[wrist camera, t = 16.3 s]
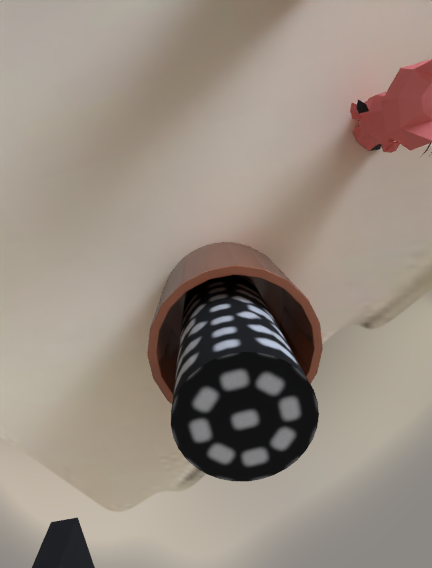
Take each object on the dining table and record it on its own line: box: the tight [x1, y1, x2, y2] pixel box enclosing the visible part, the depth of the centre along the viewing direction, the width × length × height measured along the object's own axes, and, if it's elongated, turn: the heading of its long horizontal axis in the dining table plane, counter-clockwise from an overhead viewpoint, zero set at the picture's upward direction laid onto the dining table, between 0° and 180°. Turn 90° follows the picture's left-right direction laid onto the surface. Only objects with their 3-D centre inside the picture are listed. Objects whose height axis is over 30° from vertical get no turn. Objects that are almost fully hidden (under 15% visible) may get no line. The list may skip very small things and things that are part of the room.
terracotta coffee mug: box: [148, 242, 322, 403], centre depth 36 cm, size 19×14×12 cm
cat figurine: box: [350, 59, 432, 155], centre depth 31 cm, size 7×7×12 cm
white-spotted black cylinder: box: [171, 275, 319, 481], centre depth 31 cm, size 8×8×20 cm
